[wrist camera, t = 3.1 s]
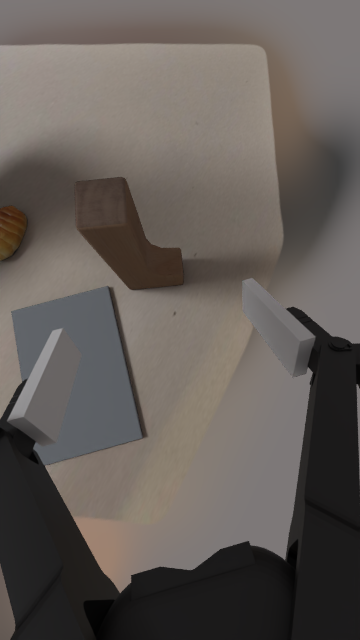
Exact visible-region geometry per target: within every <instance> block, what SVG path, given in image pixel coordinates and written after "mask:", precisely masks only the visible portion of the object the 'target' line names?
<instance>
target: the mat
mask: <svg viewBox="0 0 360 640" xmlns="http://www.w3.org/2000/svg"><path fill="white" fill-rule="evenodd" d="M11 313H12V319H13V326H14V332H15V338H16V345H17V351H18V358H19V364H20V371H21V377H22V382H23V381H24V380H25V379H28V378H29V376H30V374H31V372H32V370H33V368H34V366H35V364H36V362H37V360H38V358H39V356H40V354H41V352H42V350H43V348H44V346H45V345H46V343H47V341H48V339H49V337H50V335H51V333H52V331H53V330H57V329H61V328H63V329H64V330H65V331H66V333H67V334H68V336H69V337H70V339H71V340H72V341H73V343H74V344H75V346H76V347H77V349H78V350H79V351H80V353H81V354H82V355H81V359H80V362H79V366H78V369H77V373H76V376H75V380H74V383H73V387H72V390H71V394H70V397H69V401H68V404H67V408H66V411H65V415H64V418H63V422H62V425H61V429H60V433H59V436H58V440H57V443H54V444H50V445H47V446H43V447H42V446H41V445H39V444H38V443H37V442H35V445H34V448H33V449H34V450H35V451H36V452H37V453H38V455H39V457H40V459H41V461H42V462H43V464H44V465H48V464H51V463H55V462H58V461H62V460H65V459H69V458H73V457H76V456H80V455H83V454H87V453H91V452H94V451H98V450H101V449H105V448H108V447H112V446H116V445H119V444H123V443H126V442H130V441H134V440H137V439H141V438H142V437H143V435H142V430H141V426H140V422H139V417H138V413H137V408H136V404H135V400H134V395H133V391H132V386H131V382H130V378H129V373H128V369H127V364H126V360H125V356H124V351H123V347H122V342H121V338H120V334H119V329H118V325H117V320H116V316H115V312H114V307H113V303H112V298H111V294H110V290H109V287H108V286H106V287H102V288H98V289H95V290H91V291H87V292H83V293H79V294H75V295H72V296H68V297H64V298H60V299H56V300H53V301H49V302H45V303H41V304H37V305H34V306H30V307H26V308H22V309H18V310H15V311H11Z"/></svg>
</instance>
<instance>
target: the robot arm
mask: <svg viewBox="0 0 360 640" xmlns="http://www.w3.org/2000/svg"><path fill="white" fill-rule="evenodd" d="M242 296H243V312H244V314H245V315H246V316H247V318H248V319H249V320H250V322H251V323H252V324H253V326H254V327H255V328H256V330H257V331H258V332H259V333H260V335H261V336H262V337H263V339H264V340H265V341H266V343H267V344H268V345H269V347H270V348H271V349H272V351H273V352H274V353H275V355H276V356H277V357H278V359H279V360H280V361H281V363H282V364H283V365H284V367H285V368H286V369H287V371H288V372H289V373H290V375H291V376H292V377H297V376H300V375H303V374H306V372H307V368H308V367H309V368H310V369H311V371H312V372H313V374H312V377H311V381H310V385H311V387H310V394H309V401H308V409H307V416H306V423H305V431H304V438H303V445H302V453H301V460H300V468H299V475H298V483H297V489H296V497H295V505H294V511H293V517H292V522H291V526H290V532H289V538H288V545H287V552H286V559H285V560H284V559H283V558H281V557H280V556H278V555H277V554H275V553H273V552H271V551H269V550H267V549H265V548H261V547H258V546H250V543H249V541H247V542H243V543H240V544H237V545H233V546H230V547H227V548H223V549H220V550H219V551H217V552H216V553H215V554H213V555H212V556H211V557H210V558H208V559H207V560H206V561H204V562H203V563H202V564H200V565H199V566H198V567H197V568H195V569H193V570H183V569H175V568H167V567H158V568H155V569H151V570H148V571H144V572H141V573H137V574H134V575H131V583H130V584H129V585H128V586H127V587H126V588H125V589H124V590H123V591H122V592H121V593H119V591H118V590H117V588H116V586H115V585H114V583H113V582H112V581H111V580H110V579H109V578H108V577H107V576H106V575H105V574H104V573H103V571H102V570H101V569H100V567H99V565H98V563H97V561H96V560H95V558H94V556H93V554H92V552H91V551H90V549H89V547H88V545H87V543H86V541H85V539H84V538H83V536H82V534H81V532H80V530H79V529H78V527H77V525H76V523H75V521H74V519H73V517H72V516H71V514H70V512H69V510H68V508H67V506H66V505H65V503H64V501H63V499H62V497H61V495H60V494H59V492H58V490H57V488H56V486H55V484H54V483H53V481H52V479H51V477H50V475H49V473H48V472H47V470H46V468H45V466H44V464H43V462H42V461H41V459H40V457H39V455H38V453H37V452H36V451H35V450H34V449H33V448H34V445H35V442H37V443H38V444H39V445H41V446H42V447H43V446H47V445H50V444H54V443H57V440H58V436H59V433H60V429H61V425H62V422H63V418H64V415H65V411H66V408H67V404H68V401H69V397H70V394H71V390H72V387H73V383H74V380H75V376H76V373H77V369H78V366H79V362H80V359H81V355H82V354H81V353H80V351H79V350H78V349H77V347H76V346H75V344H74V343H73V341H72V340H71V339H70V337H69V336H68V334H67V333H66V331H65V330H64V329H63V328H61V329H57V330H53V331H52V333H51V335H50V337H49V339H48V341H47V343H46V345H45V346H44V348H43V350H42V352H41V354H40V356H39V358H38V360H37V362H36V364H35V366H34V368H33V370H32V372H31V374H30V376H29V378H28V379H25V380H24V381H23V382H22V383H21V384H20V385H19V386H18V388H17V389H16V391H15V393H14V395H13V397H12V399H11V401H10V402H9V403H10V404H8V406H7V408H6V410H5V412H4V414H3V416H2V417H1V419H0V564H1V568H2V572H3V576H4V579H5V584H6V588H7V591H8V595H9V599H10V603H11V606H12V610H13V615H14V618H15V624H16V626H15V632H14V634H13V636H12V638H11V639H10V640H360V481H359V451H358V422H357V420H358V419H357V389H356V384H358V386H359V388H360V344H352V343H351V342H349V341H348V340H346V339H343V338H340V337H332V336H331V335H330V334H328V333H327V332H326V331H325V330H324V329H323V328H321V327H320V326H319V325H318V324H317V323H316V322H314V321H313V320H312V319H311V318H310V317H308V316H307V315H306V314H305V313H304V312H303V311H302V310H299V309H297V308H295V307H291V308H287V309H285V308H284V307H283V306H282V305H281V304H280V303H279V302H278V301H277V300H276V299H275V298H274V297H272V296H271V295H270V294H269V293H268V292H267V291H266V290H265V289H264V288H263V287H262V286H261V285H260V284H259V283H257V282H256V281H255V280H254V279H253V278H250V279H246V280H242Z"/></svg>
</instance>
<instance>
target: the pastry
mask: <svg viewBox="0 0 360 640" xmlns="http://www.w3.org/2000/svg"><path fill="white" fill-rule="evenodd" d="M26 228H27V218H26V216H25V214H24V213H22V212H21V211H20V210H18V209H17V208H15V207H14V206H8V207H3V208H1V209H0V261H1V260H3V259H6V258H8V257H10V256H12V255H13V253H14V251H15V250H16V249H18V247H19V245H20V243H21V241H22V239H23V236H24V233H25V231H26Z"/></svg>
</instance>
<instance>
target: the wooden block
mask: <svg viewBox="0 0 360 640" xmlns="http://www.w3.org/2000/svg"><path fill="white" fill-rule="evenodd" d="M75 215H76V228H77V230H78V231H79V232H80V234H81V235H82V236H83V237H84V238H85V239H86V240H87V241H88V243H89V244H90V245H91V246H92V247H93V248H94V249H95V250H96V252H97V253H98V254H99V255H100V256H101V257H102V258H103V260H104V261H105V262H106V263H107V264H108V265H109V266H110V267H111V269H112V270H113V271H114V272H115V273H116V274H117V275H118V277H119V278H120V279H121V280H122V281H123V282H124V283H125V284H126V286H127V287H128V288H129V289H131V290H133V289H143V288H154V287H163V286H173V285H182V284H183V282H184V274H183V264H182V255H181V249H180V248H161V247H158V246H155V245H152V244H151V243H150V242H149V241H148V240H147V239H146V237H145V234H144V231H143V228H142V225H141V222H140V219H139V216H138V213H137V210H136V207H135V204H134V201H133V198H132V196H131V193H130V190H129V187H128V184H127V181H126V179H125V178H123V177H117V178H107V179H97V180H88V181H78V182H76V183H75Z"/></svg>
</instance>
